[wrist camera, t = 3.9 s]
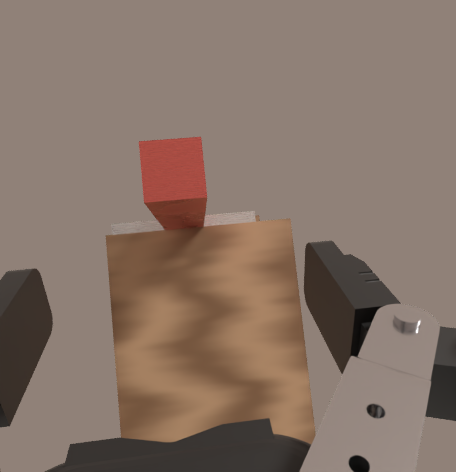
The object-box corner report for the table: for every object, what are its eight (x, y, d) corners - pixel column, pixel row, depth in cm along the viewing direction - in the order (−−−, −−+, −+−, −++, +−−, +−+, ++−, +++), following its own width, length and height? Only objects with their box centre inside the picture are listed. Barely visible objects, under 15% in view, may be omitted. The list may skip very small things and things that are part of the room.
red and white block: (46, 211, 16) (42, 148, 16) (134, 247, 37) (132, 220, 37) (298, 189, 16) (291, 130, 17) (241, 237, 38) (238, 211, 38)
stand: (148, 793, 23) (103, 204, 26) (166, 605, 36) (135, 227, 39) (352, 751, 24) (286, 188, 27) (298, 582, 37) (257, 216, 40)
